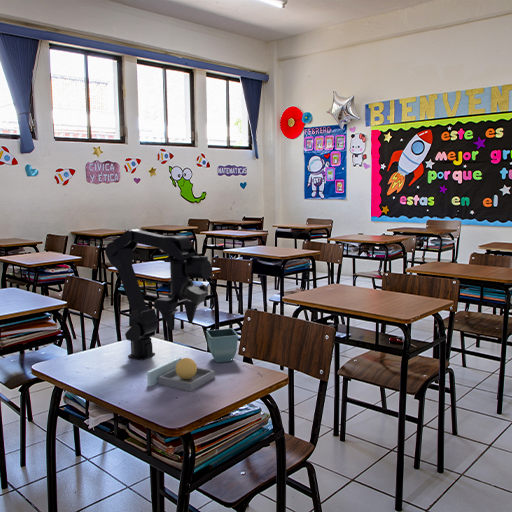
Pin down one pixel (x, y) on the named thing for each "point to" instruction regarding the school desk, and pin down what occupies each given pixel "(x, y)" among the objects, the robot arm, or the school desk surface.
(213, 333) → the flower pot
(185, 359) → the ball
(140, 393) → the school desk surface
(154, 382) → the wall
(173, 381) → the dish
